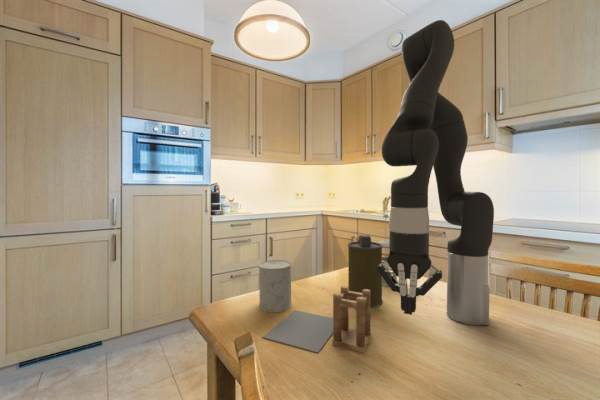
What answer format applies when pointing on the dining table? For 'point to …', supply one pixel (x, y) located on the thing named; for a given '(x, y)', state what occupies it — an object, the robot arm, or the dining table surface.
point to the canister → (365, 268)
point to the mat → (302, 331)
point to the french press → (384, 256)
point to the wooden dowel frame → (341, 330)
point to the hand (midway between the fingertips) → (408, 312)
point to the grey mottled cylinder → (275, 285)
